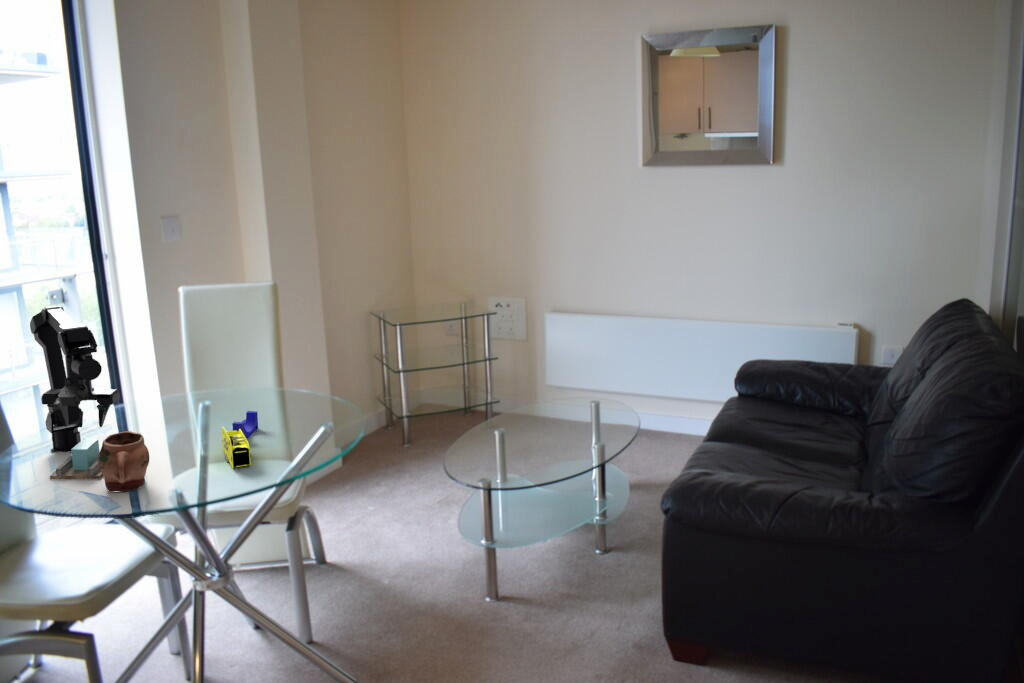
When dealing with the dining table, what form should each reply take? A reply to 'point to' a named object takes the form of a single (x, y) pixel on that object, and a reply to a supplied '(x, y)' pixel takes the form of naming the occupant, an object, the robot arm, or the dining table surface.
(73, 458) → the teal rectangular block
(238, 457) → the yellow toy chassis
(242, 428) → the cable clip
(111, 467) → the decorative planter
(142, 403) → the dining table surface
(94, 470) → the rail board
